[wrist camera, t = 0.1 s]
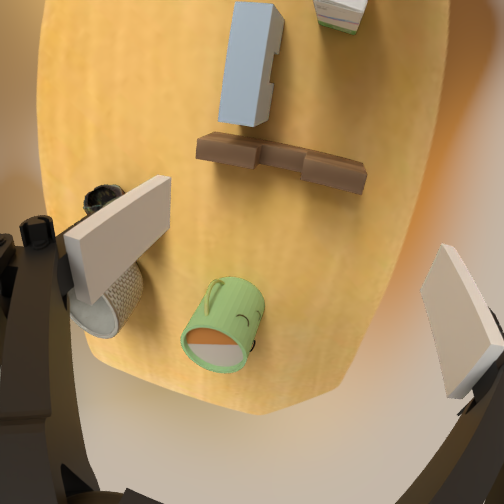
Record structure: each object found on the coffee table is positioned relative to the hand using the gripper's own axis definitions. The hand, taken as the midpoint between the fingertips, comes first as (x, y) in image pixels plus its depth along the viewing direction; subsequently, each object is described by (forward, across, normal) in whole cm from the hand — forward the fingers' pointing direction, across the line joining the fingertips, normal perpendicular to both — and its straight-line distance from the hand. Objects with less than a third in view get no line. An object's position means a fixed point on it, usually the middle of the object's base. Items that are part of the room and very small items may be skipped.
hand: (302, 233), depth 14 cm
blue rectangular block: (+28, -9, +8) cm, 30 cm away
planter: (+28, -30, -29) cm, 50 cm away
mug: (+28, -8, -28) cm, 40 cm away
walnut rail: (+28, -4, -3) cm, 28 cm away
